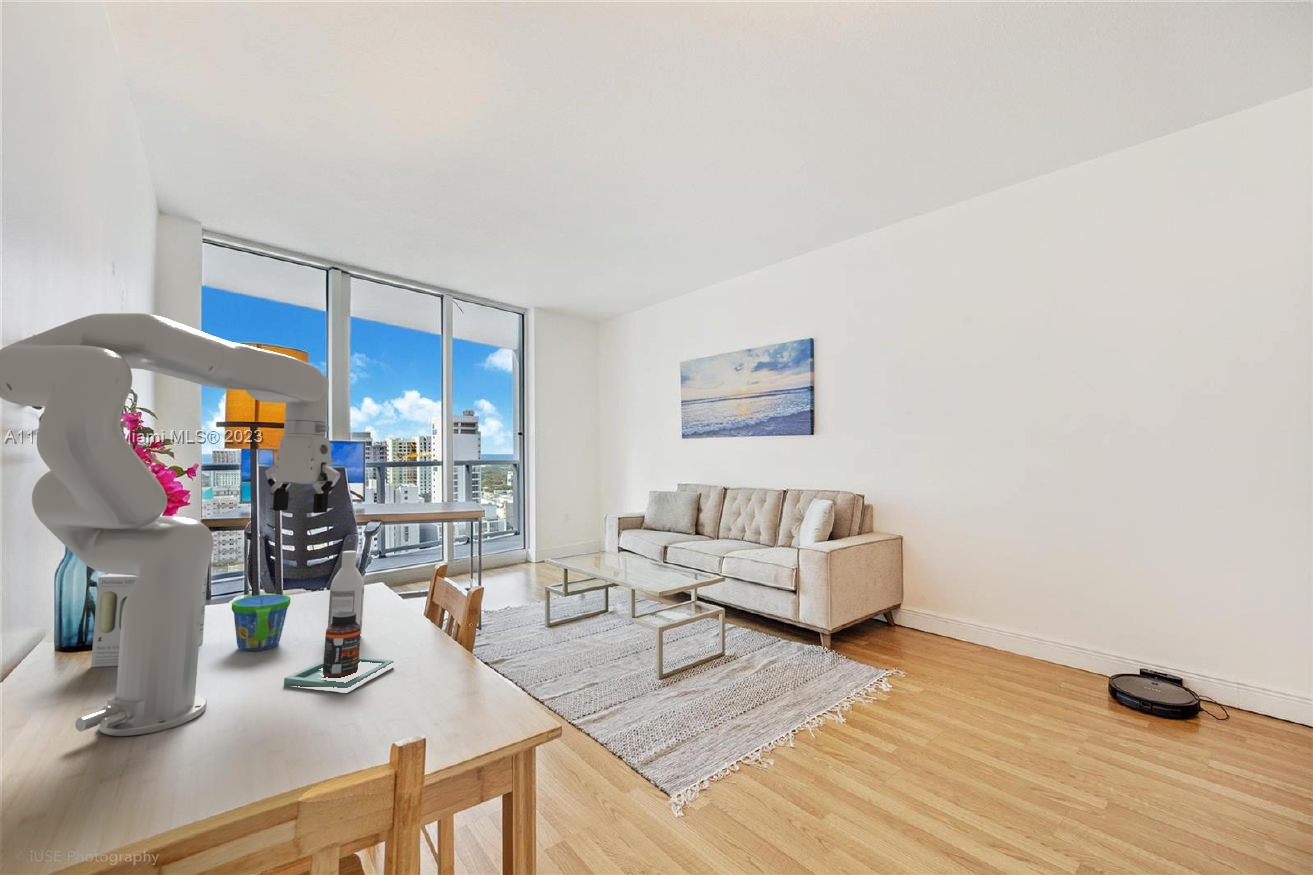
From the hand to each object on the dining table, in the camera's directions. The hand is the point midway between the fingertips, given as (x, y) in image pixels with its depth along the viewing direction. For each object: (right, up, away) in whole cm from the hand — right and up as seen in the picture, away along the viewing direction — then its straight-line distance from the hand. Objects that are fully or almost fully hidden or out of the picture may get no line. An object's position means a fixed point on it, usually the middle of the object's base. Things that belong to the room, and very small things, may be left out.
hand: (300, 511), depth 118 cm
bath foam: (+3, -31, +12) cm, 34 cm away
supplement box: (-30, -30, -2) cm, 42 cm away
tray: (+15, -30, -11) cm, 35 cm away
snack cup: (-12, -30, +5) cm, 33 cm away
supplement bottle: (+15, -30, -11) cm, 35 cm away
